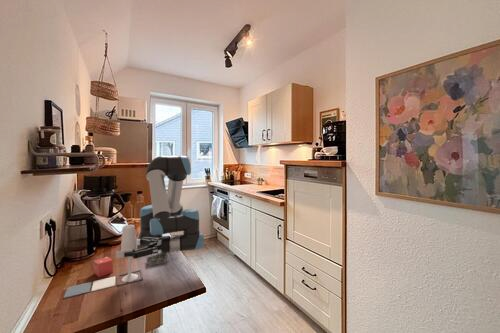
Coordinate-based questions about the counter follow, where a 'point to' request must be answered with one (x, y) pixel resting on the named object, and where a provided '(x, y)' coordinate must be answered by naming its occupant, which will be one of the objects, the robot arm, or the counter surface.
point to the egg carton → (157, 259)
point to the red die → (103, 266)
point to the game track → (96, 285)
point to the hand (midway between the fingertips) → (120, 248)
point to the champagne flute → (129, 248)
